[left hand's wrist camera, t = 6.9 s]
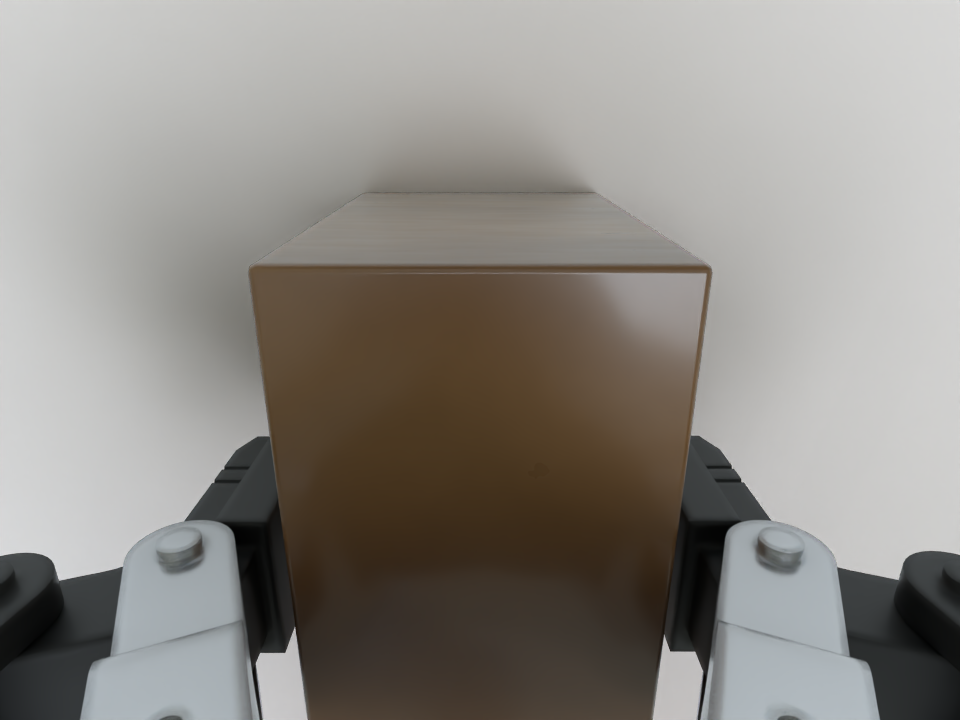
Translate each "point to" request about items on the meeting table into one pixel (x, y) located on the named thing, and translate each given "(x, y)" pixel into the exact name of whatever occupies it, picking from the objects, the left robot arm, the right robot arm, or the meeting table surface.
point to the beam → (480, 451)
